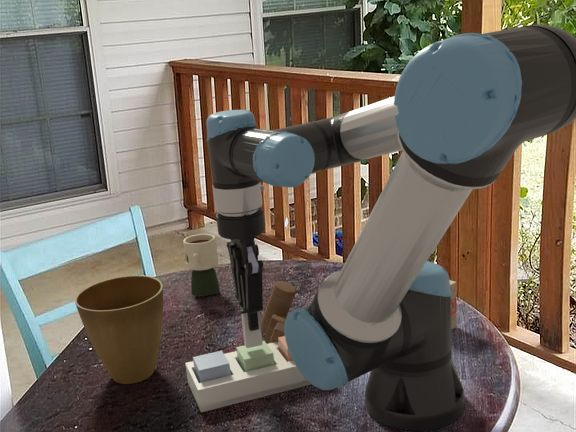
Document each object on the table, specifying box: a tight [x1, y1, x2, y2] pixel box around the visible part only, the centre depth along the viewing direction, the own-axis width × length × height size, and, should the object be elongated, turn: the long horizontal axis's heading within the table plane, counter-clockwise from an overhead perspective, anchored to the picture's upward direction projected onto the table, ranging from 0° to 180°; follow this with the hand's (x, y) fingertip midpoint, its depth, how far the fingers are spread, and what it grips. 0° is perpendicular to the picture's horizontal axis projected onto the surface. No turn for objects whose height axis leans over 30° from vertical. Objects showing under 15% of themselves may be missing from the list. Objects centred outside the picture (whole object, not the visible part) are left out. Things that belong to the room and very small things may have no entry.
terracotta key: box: [278, 336, 293, 362], centre depth 126 cm, size 5×5×4 cm
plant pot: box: [74, 274, 164, 385], centre depth 129 cm, size 15×15×16 cm
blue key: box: [192, 350, 231, 383], centre depth 122 cm, size 5×5×4 cm
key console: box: [185, 342, 312, 413], centre depth 124 cm, size 10×22×4 cm, turn 109°
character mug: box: [182, 233, 221, 297], centre depth 163 cm, size 11×7×13 cm, turn 174°
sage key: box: [235, 340, 274, 372], centre depth 124 cm, size 5×5×4 cm
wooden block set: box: [260, 280, 301, 344], centre depth 138 cm, size 18×9×10 cm, turn 165°
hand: (253, 344), depth 123 cm, fingers closed
